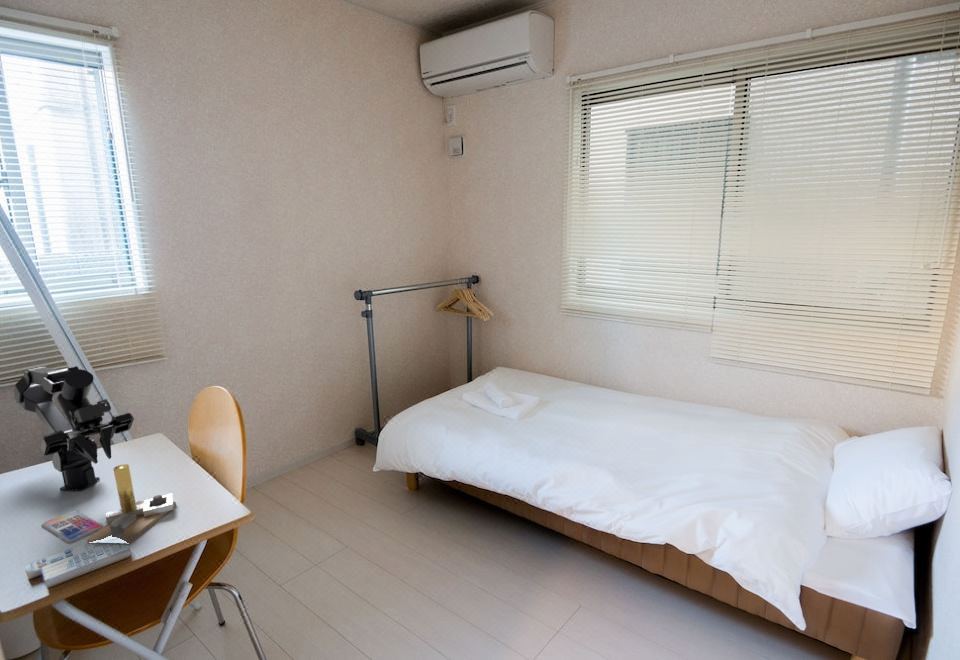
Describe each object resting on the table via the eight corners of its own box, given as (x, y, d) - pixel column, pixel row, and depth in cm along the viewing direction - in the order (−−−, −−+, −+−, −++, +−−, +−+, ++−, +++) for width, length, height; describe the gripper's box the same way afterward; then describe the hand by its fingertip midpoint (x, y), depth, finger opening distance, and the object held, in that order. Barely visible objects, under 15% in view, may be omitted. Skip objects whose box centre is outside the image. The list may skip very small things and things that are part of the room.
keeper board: (87, 543, 117) (83, 525, 116) (138, 504, 132) (136, 489, 131) (129, 544, 116) (126, 527, 115) (176, 505, 131) (173, 489, 130)
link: (173, 498, 132) (165, 453, 130) (173, 509, 127) (165, 462, 124) (108, 514, 126) (99, 467, 123) (106, 526, 121) (96, 477, 118)
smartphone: (75, 509, 130) (105, 525, 122) (76, 512, 130) (106, 529, 123) (39, 523, 124) (68, 541, 116) (40, 527, 124) (69, 545, 116)
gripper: (34, 403, 121) (61, 459, 117) (124, 382, 136) (151, 430, 132) (30, 428, 127) (56, 482, 123) (116, 405, 142) (142, 452, 138)
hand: (103, 460), depth 129 cm, fingers open, 3 cm apart
